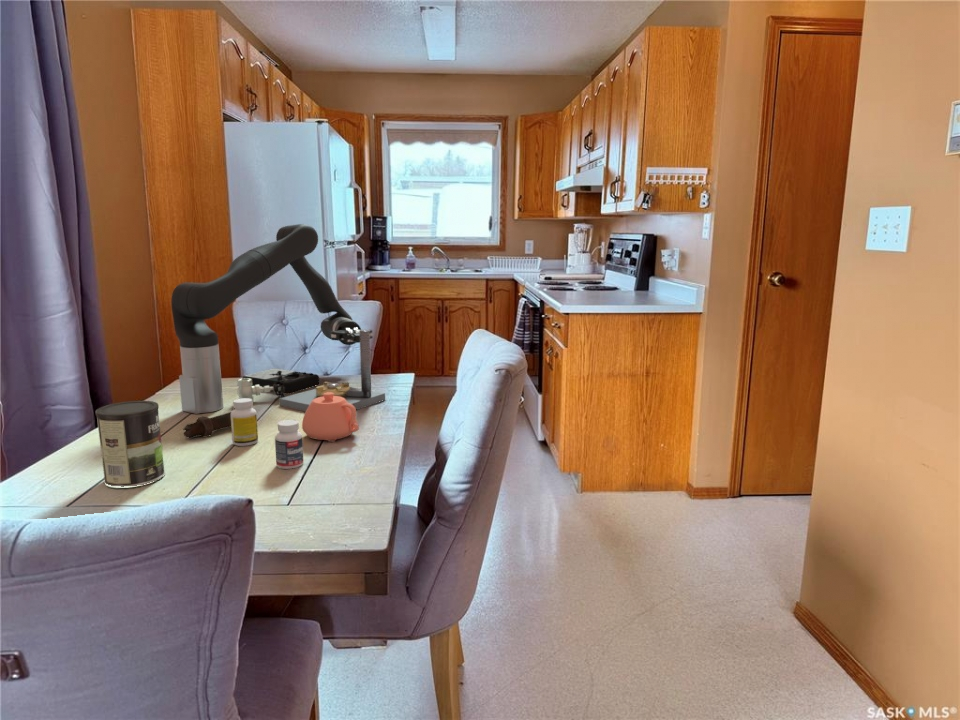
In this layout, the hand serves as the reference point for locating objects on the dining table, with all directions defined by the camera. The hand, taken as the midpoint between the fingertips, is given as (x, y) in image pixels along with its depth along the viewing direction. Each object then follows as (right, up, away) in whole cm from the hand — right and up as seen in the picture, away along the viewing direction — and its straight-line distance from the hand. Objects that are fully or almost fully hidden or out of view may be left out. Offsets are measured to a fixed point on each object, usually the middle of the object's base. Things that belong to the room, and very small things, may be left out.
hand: (358, 338), depth 181 cm
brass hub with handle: (-3, -16, -7) cm, 17 cm away
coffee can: (-31, -29, -60) cm, 74 cm away
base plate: (-6, -18, -6) cm, 20 cm away
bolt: (-27, -23, -32) cm, 48 cm away
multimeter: (-26, -14, +13) cm, 33 cm away
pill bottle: (-4, -27, -53) cm, 60 cm away
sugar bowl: (+1, -24, -35) cm, 42 cm away
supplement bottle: (-18, -25, -39) cm, 50 cm away
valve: (-26, -18, -4) cm, 32 cm away
